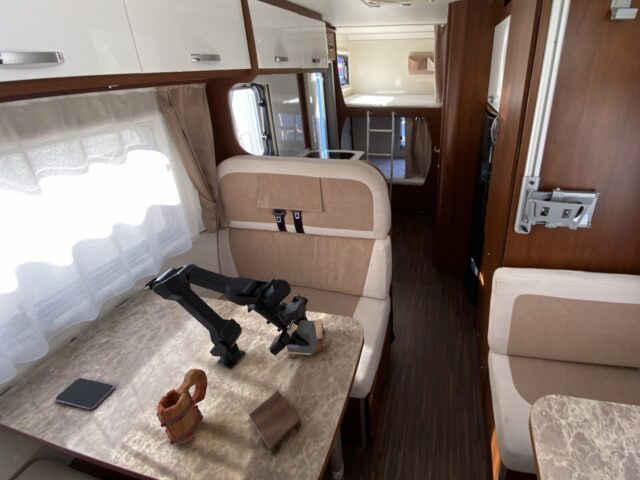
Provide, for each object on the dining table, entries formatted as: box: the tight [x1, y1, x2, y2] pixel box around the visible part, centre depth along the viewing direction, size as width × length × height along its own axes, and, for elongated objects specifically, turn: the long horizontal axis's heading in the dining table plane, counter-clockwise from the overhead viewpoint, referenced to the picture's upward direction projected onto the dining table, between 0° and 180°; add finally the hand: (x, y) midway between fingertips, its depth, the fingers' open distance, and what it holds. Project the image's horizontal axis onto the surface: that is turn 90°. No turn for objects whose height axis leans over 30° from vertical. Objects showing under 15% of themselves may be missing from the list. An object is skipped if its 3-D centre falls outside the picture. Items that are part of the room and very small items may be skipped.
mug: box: [155, 368, 209, 446], centre depth 83 cm, size 15×8×15 cm, turn 168°
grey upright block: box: [286, 320, 318, 356], centre depth 96 cm, size 8×5×10 cm, turn 83°
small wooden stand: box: [248, 390, 302, 455], centre depth 84 cm, size 12×9×3 cm
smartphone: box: [54, 377, 115, 411], centre depth 95 cm, size 7×1×15 cm
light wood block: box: [286, 318, 325, 359], centre depth 107 cm, size 12×9×6 cm
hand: (311, 338), depth 95 cm, fingers closed on grey upright block, 4 cm apart
